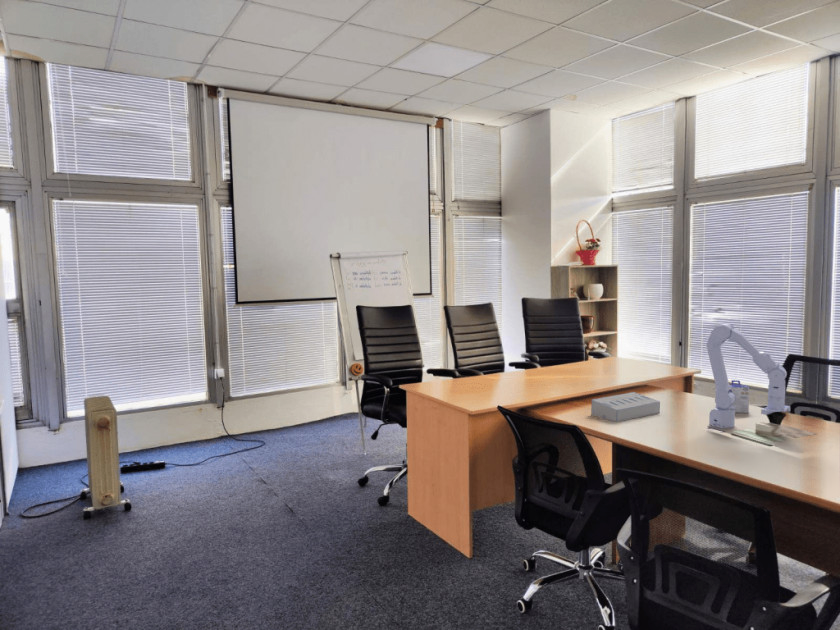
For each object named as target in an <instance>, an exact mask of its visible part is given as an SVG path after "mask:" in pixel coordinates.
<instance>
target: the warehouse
mask: <svg viewBox="0 0 840 630" xmlns="http://www.w3.org/2000/svg"><path fill="white" fill-rule="evenodd" d="M590 406H591V409H590V410H591V412H590V413H591V416H594V417H598V418H602V419H604V420H607V421H612V422H616V423H618V422H622V421H623V422H624V421H628V420H631V419H632V420H633V419H636V418H641V417H645V416H650V415H655V414H659V413H660V410H661V408H660V406H661V401H659V400H657V399H654V398H651V397H650V396H646V395H643V394H641V393H637V392H635V391H630V392H627V393H621V394H615V395H610V396H603V397H599V398H593V399H591V405H590Z"/></svg>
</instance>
